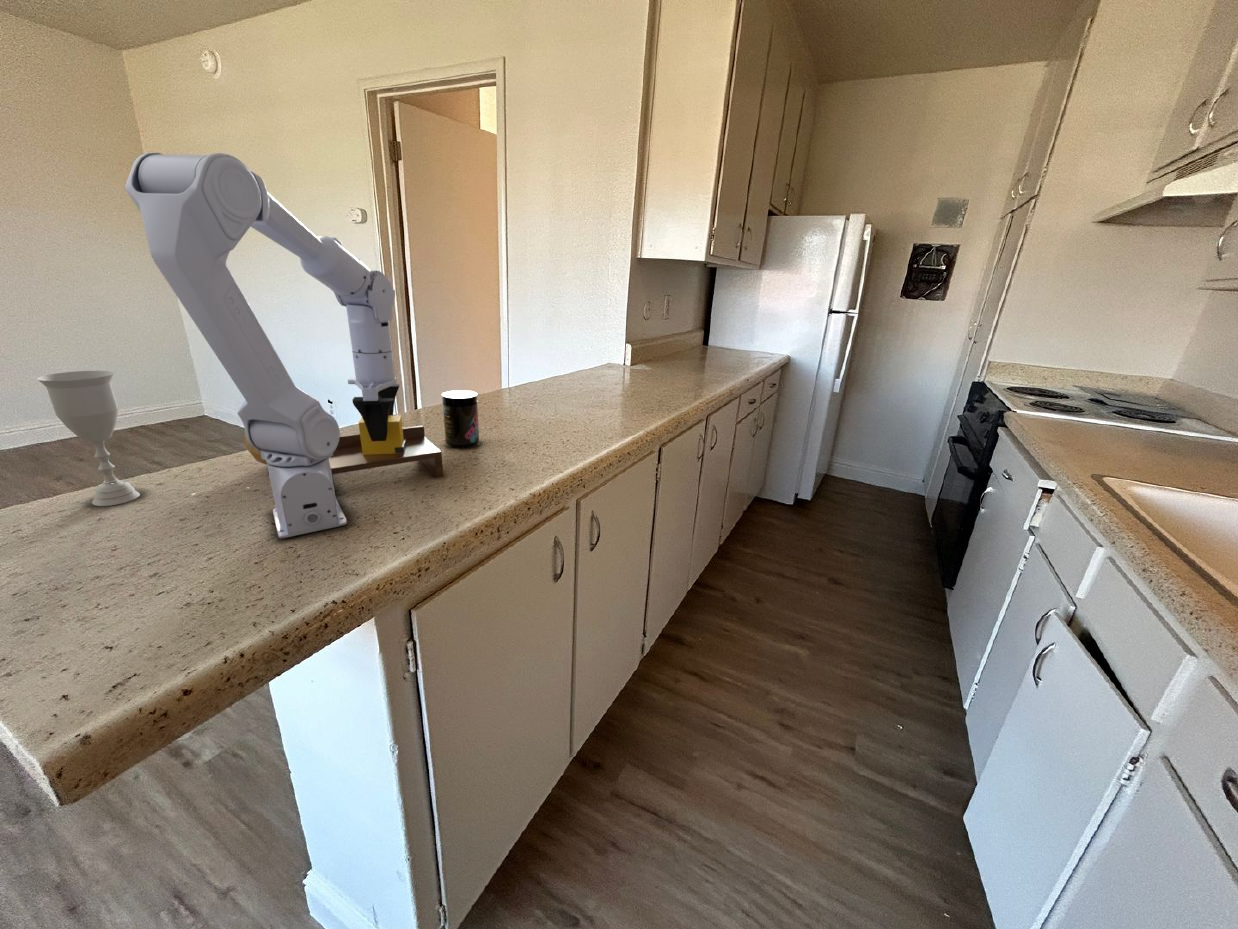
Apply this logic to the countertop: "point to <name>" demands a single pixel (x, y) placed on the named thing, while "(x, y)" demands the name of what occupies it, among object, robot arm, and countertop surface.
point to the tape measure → (393, 440)
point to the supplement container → (461, 418)
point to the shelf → (416, 449)
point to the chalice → (90, 422)
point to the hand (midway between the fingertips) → (382, 433)
